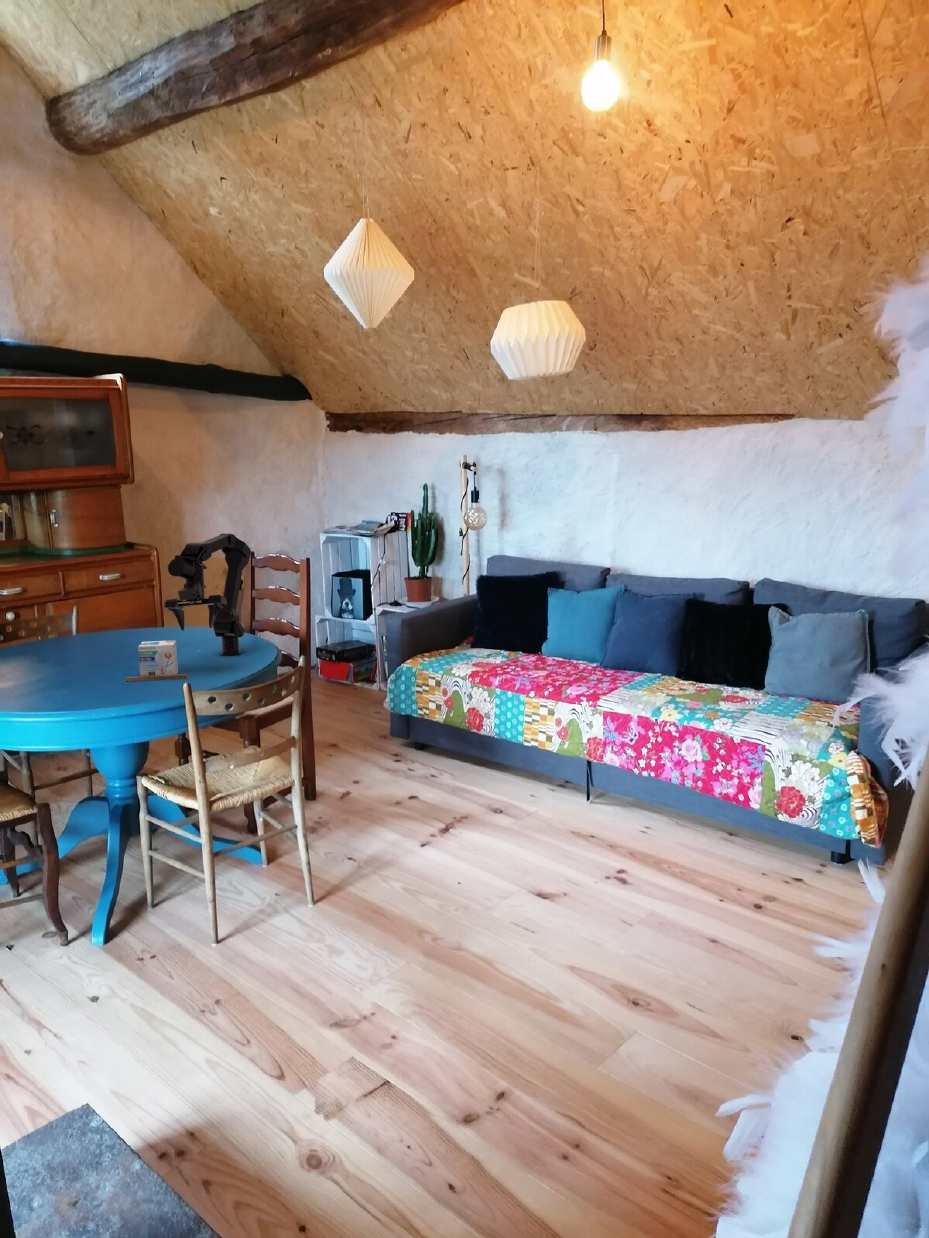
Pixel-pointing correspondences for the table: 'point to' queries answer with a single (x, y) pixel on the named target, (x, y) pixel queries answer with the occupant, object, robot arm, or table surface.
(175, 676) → the ledge strip
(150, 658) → the light bulb box
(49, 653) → the table surface
